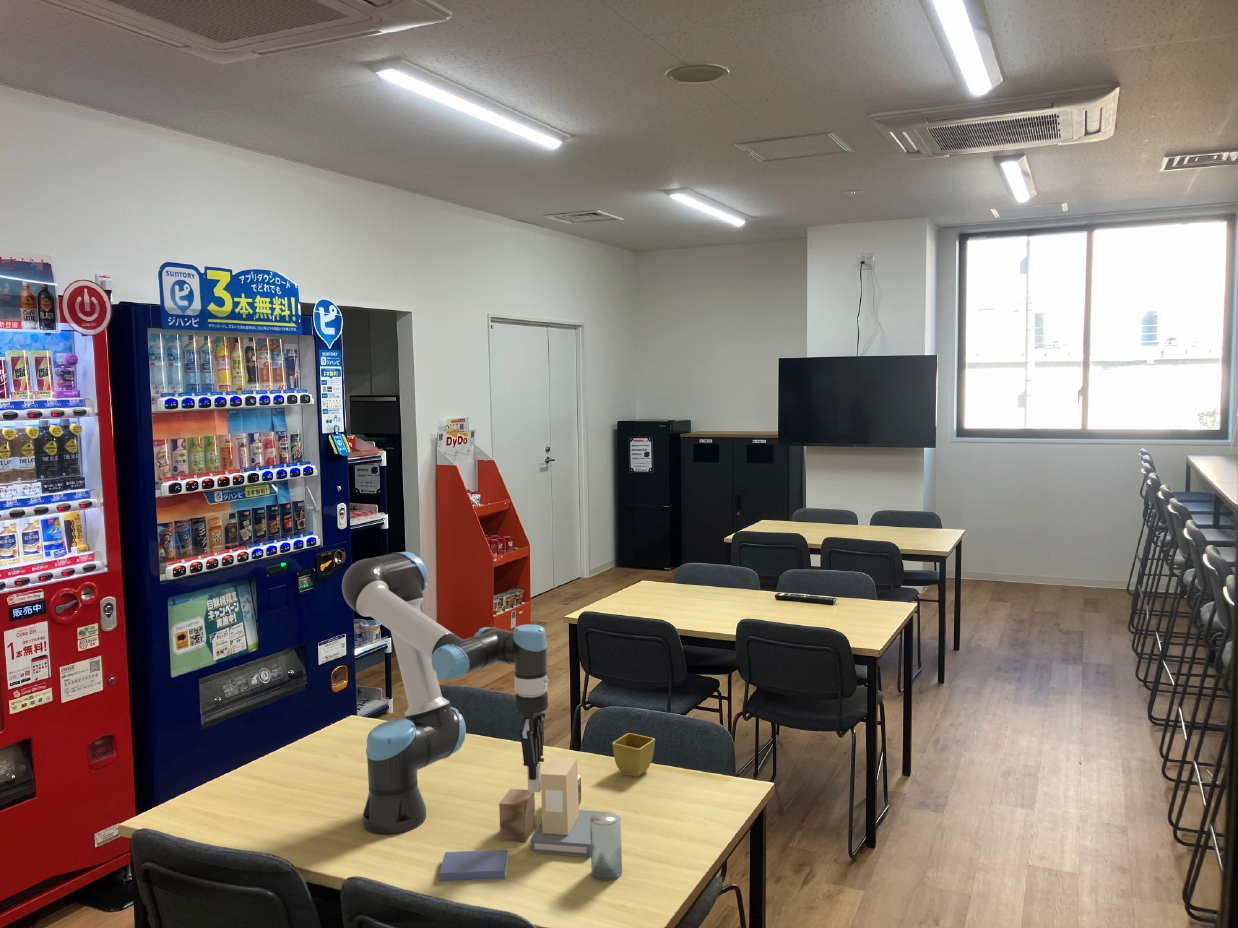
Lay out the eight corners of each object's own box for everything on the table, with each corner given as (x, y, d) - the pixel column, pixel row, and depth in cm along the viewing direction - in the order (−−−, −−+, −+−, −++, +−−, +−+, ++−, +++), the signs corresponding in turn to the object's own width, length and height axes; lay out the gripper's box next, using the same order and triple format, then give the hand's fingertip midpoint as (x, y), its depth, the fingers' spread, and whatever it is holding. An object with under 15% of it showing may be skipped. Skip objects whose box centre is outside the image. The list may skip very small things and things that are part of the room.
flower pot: (656, 769, 251) (655, 737, 250) (640, 781, 243) (639, 748, 243) (629, 763, 256) (628, 732, 255) (612, 775, 248) (611, 742, 247)
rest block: (500, 840, 213) (499, 803, 213) (511, 824, 221) (510, 788, 220) (525, 842, 212) (523, 804, 211) (535, 826, 220) (534, 790, 219)
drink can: (588, 879, 195) (586, 823, 194) (595, 863, 202) (593, 809, 201) (618, 882, 194) (617, 825, 193) (624, 866, 200) (623, 811, 199)
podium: (530, 852, 207) (530, 839, 207) (550, 819, 223) (550, 807, 223) (590, 857, 204) (590, 844, 204) (606, 823, 220) (606, 811, 220)
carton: (542, 833, 210) (540, 773, 209) (554, 813, 220) (552, 756, 219) (567, 835, 209) (565, 775, 207) (579, 814, 218) (577, 757, 217)
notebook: (439, 883, 196) (439, 872, 196) (445, 862, 205) (445, 851, 205) (505, 880, 197) (505, 869, 197) (508, 859, 206) (508, 849, 206)
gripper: (539, 702, 206) (542, 804, 208) (554, 684, 219) (557, 779, 221) (507, 700, 207) (510, 801, 209) (524, 682, 220) (527, 777, 222)
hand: (534, 790), depth 215 cm, fingers closed
